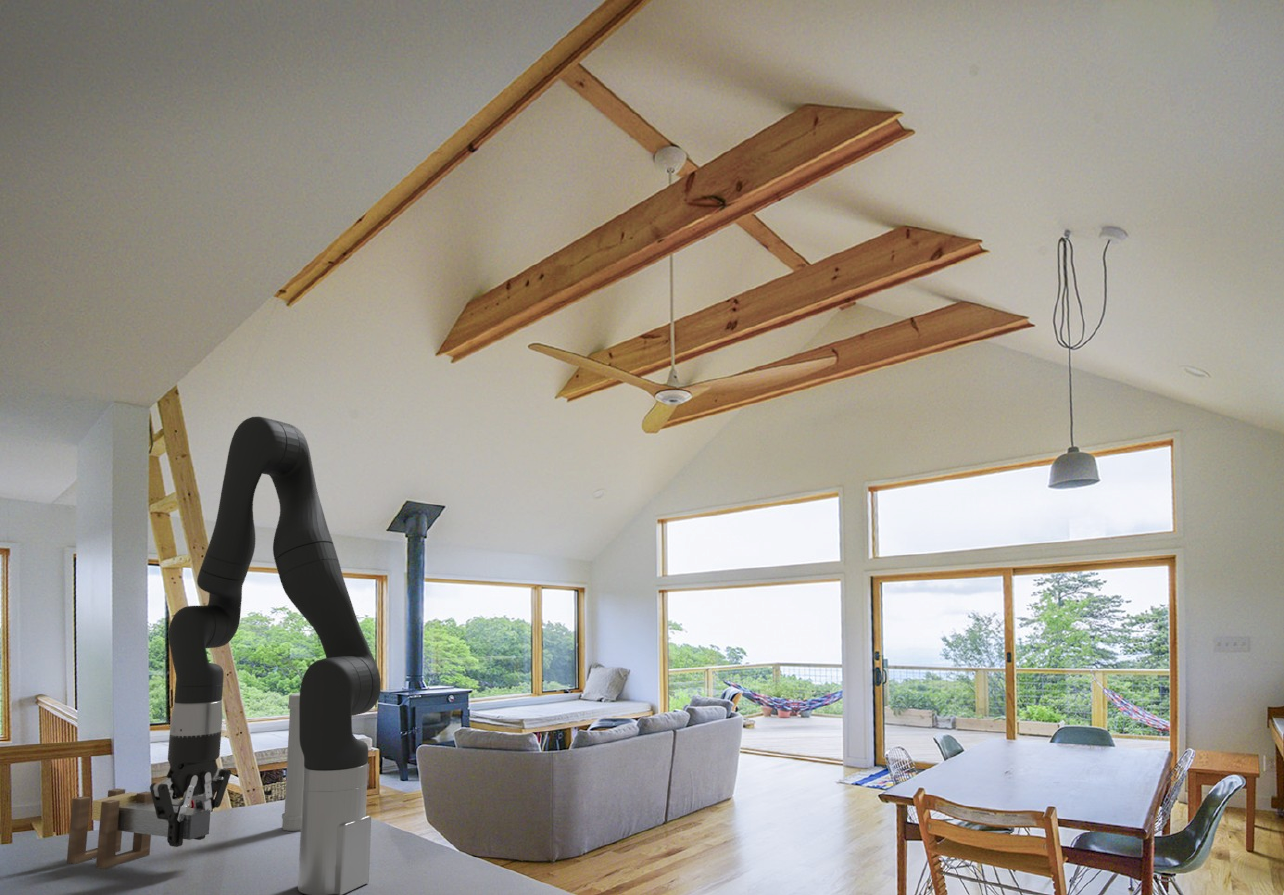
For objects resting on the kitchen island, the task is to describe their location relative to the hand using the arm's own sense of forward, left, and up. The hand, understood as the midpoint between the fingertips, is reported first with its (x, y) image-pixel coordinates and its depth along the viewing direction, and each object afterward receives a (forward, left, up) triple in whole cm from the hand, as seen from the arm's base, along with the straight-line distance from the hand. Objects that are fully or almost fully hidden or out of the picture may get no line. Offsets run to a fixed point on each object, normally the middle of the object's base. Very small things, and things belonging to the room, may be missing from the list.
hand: (187, 841), depth 139 cm
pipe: (+3, -26, -4) cm, 27 cm away
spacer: (+17, 0, +3) cm, 17 cm away
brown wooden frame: (+18, 0, -4) cm, 18 cm away
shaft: (+6, 0, +1) cm, 6 cm away
